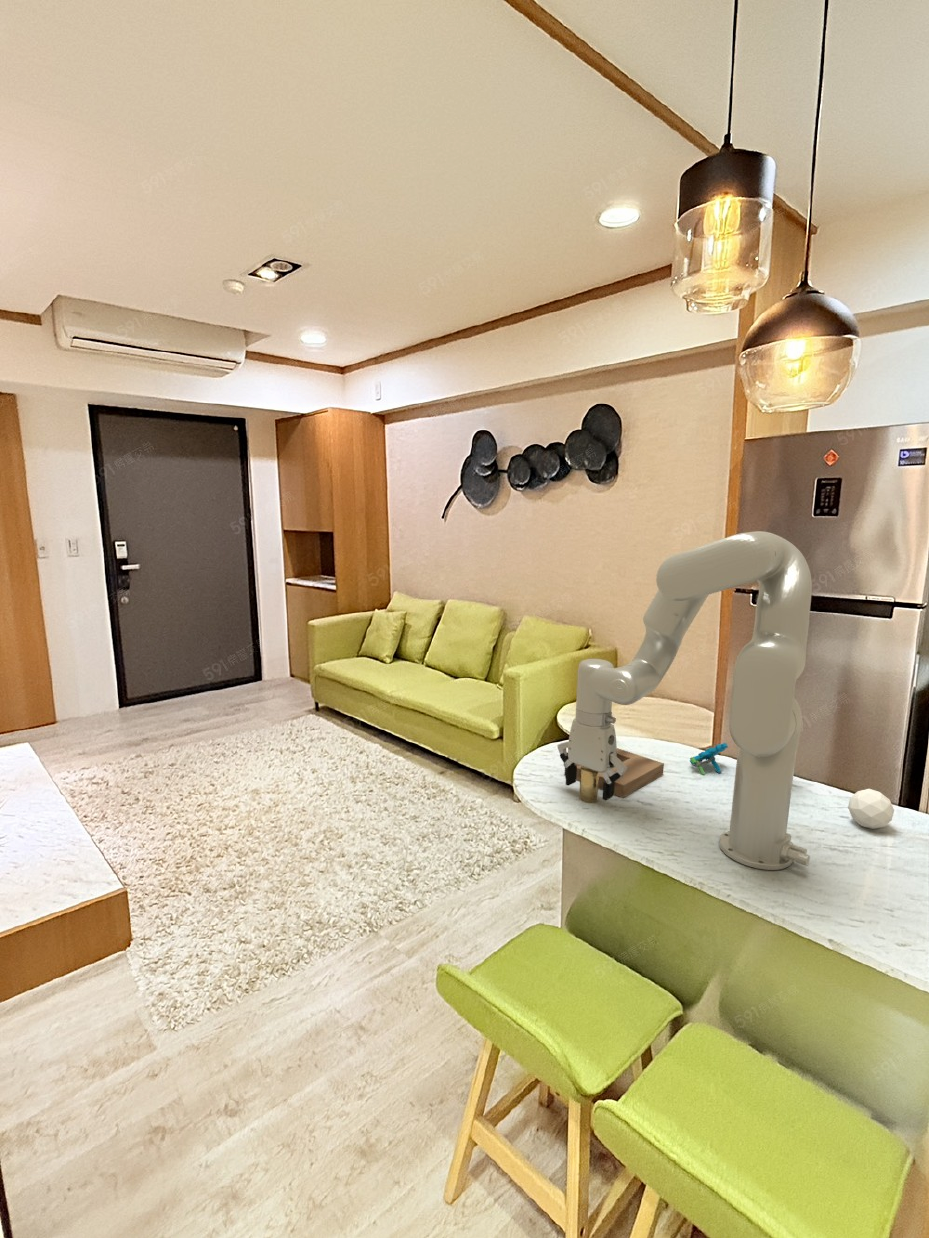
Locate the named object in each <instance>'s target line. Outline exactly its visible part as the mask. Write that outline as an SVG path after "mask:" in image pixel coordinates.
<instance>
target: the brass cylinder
mask: <svg viewBox="0 0 929 1238" xmlns="http://www.w3.org/2000/svg"><path fill="white" fill-rule="evenodd" d="M598 786H599V772H597V771H594V770H591V769H589V768H586V767H583V766H582V767H581V775H580V781H579V795H578V797H579V798H578V799H579V801H581V802H583V803H587V804H594V803H596V802H598V801H599V800H598V797H599V789H598Z"/></svg>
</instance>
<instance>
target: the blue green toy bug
mask: <svg viewBox="0 0 929 1238" xmlns="http://www.w3.org/2000/svg"><path fill="white" fill-rule="evenodd" d="M727 748H729V746H728V744H727V742H723V743H721V744H719V743H718V744H716V745H715V746H714V747H709V748H708V749H705V750H704V751H701V752H699V753H698V755H695V756H691V757H690V758H689V763H690V764H691V765H694V766H695V768H698V769H699V771H700V774H701V776H705V775H706V772H705V771H704V769H703V767H702V765H706V764H709V763H711V764H712V765H713V767H714V769H715V771H716V772H719V773H721V772H722V770H721V768H720V766H719V764H718V763H717V761H716V757H715V756H717V755H719V754H720V753H722V752H724V751H725V750H726V749H727Z"/></svg>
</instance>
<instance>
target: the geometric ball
mask: <svg viewBox="0 0 929 1238" xmlns="http://www.w3.org/2000/svg"><path fill="white" fill-rule="evenodd" d="M847 808H848V810H849V814H850V816H851V818H852V819H853V820H854V821H855V822H856V823H858V824H859V825H860V826H862V827H864V828H868V829H871V830H875V829H881V828H885V827H886V826H888V824H890V822H892V821H893V817H894V813H895V808H894V806H893V804H892V802H891V799H889V798H888V797H887V796H886V795H884V794H883V793H882V792H880V791H877V790H875V789H871V788H866V789H862V790H858V791H856V792H855V793H853V795H851V797H850V798H849V802H848V805H847Z"/></svg>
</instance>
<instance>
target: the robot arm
mask: <svg viewBox="0 0 929 1238" xmlns="http://www.w3.org/2000/svg"><path fill="white" fill-rule="evenodd" d="M655 581H656V587H657V589H658V590H657V592H656V593H655V594H654V597H653V598H652V600H651V602H650V604H649V606H648V607H647V609H646V611H645V612H644V614H643V617H642V622H643V624H644V627H645V635H644V639H642V643H641V644H640V646H639V648H638V650H637V652H636V653H635V655H634V657H633V659H632V660H631V662H629V663H627V664H625V665H622V666H619V667H615V666H614V664H613V663H612V662H610V661H608V660H607V659H601V658H586V659H583V660H581V661H580V662H579V664H578V669H577V680H576V681H577V683H576V700H575V701H576V703H575V718H573V721H572V724H571V727H570V731H569V737H568V741H564V742H562V743H559V744H557V745H556V746H557V750H558V753H559V757H560V759H561V761H562V763H563V767H564V769H565V768H566V776H565V775H564V776H565V786H567V787H568V786H571V785H573V784H575V783H576V782H577V780H576V776H577V765H575V764H578V765H581V766H583V767H586V768H589V769H591V770H594V771H597V772H601V773H602V775H603V777H604V779H605V781H606V782H604V783H603V790H602V797H601V798H602V800H603V801H605V802H606V801H608V800H609V799H611V798H613V797H614V796H615V795H614V789H615V781H616V780H618V779H619V778H621V777H622V776H623V774H624V773H625V771H626V770H627V766H626V765H625V764H624V763H623V762H622V761H621V760H620V759H619V758H618V757H617V748H618V747H617V746H618V745H617V736H616V729H615V728H616V727H615V723H616V720H617V718H616V717H614V716H613V712H612V710H613V709H612V708H613V703H615V704H617V705H621V706H629V705H633V704H635V703H637V702H638V701H641V699H643V698H645V697H646V696H648V695H651V693H653V692H654V691H655V690H656V689H657V687H659V685H660V683H661V682H662V680H663V679H664V677H665V675H666V674H667V672H668V671H669V669H670V668H671V665H672V664H673V662H674V660H675V658H676V657H677V654H678V651H679V649H680V647H681V645H682V642H683V638H684V637H685V635H686V633H687V631H688V629H689V628H690V626H691V624H692V623H693V622H694V620H695V618H696V617H697V615H698V613H699V611H700V610H701V608H702V606H703V605H704V604H705V602H706V600H707V598H708V597H709V595H712V594H716V593H720V592H722V591H726V590H729V589H732V588H737V587H740V586H744V585H748V584H751V583H754V582H757V583H758V595H757V600H756V605H755V618H754V626H753V630H752V631H753V632H752V637H751V640H750V641H748V642H747V643H746V644H745V645H744V646H743V647H742V648H741V650H740V651H739V653H738V655H737V658H736V660H735V663H734V667H733V675H732V687H731V696H730V705H729V713H728V714H729V715H728V716H729V717H728V729H729V733H730V736H731V738H732V740H733V742H734V744H735V745H736V746H737V747H738V751H737V757H736V763H735V764H736V765H735V766H736V767H735V773H734V774H735V775H734V784H733V793H732V794H733V795H732V804H731V811H730V812H731V814H730V822H729V830H727V831H725V832H723V833H722V834H721V835H720V836H719V841H718V842H719V843H718V844H719V847H720V849H721V851H722V852H723V853H724V854H725V855H726V856H728V857H729V858H730V859H732V860H733V861H735V862H737V863H739V864H741V865H745V866H747V867H751V868H754V869H757V870H767V871H772V870H773V871H778V870H783V869H786V868H788V867H790V866H792V864H793V862H795V863H798V864H800V865H803V866H805V867H807V866H808V865H809V863H810V860H811V859H810V858H811V856H810V855H809V854H807V848H805V847H803V846H798V845H796V844H794V842H792V834H790V833H788V832H787V829H788V821H789V813H790V806H791V798H792V789H793V782H794V777H795V776H794V774H795V766H796V758H797V753H798V747H799V742H800V737H801V733H802V732H801V730H802V725H803V717H802V716H803V713H802V709H801V707H800V704H799V702H798V701H797V699H796V698H795V690H796V682H797V679H799V677H800V676H801V675H802V673H803V672H804V669H805V667H806V660H807V658H806V657H807V643H808V637H809V636H808V635H809V629H810V628H809V626H810V614H811V603H812V594H813V593H812V591H813V590H812V589H813V588H812V587H813V585H812V575H811V569H810V567H809V564H808V562H807V560H806V558H805V556H804V555H803V553H802V552H801V550H800V549H798V548H797V547H796V546H795V545H794V544H793V543H792V542H790V541H789V540H787V539H785V538H784V537H782V536H780V535H778V534H774V533H772V532H768V531H760V530H759V531H757V530H756V531H750V532H749V531H748V532H747V531H746V532H741V533H737V534H732V535H730V536H727V537H725V538H721V539H718V540H716V541H712V542H710V543H706V544H703V545H702V546H699V547H695V548H692V549H690V550H686V551H682V552H679V553H676V554H673V555H671V556H668V557H667V558H666V559H665V560H663V562H662V563H661V564H660V565H659V567H658V569H657V572H656V578H655ZM615 766H616V767H617V772H616V773H615V772H614V770H613V768H614V767H615ZM607 771H608V772H607ZM608 773H609V774H608ZM609 775H610V776H609Z"/></svg>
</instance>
